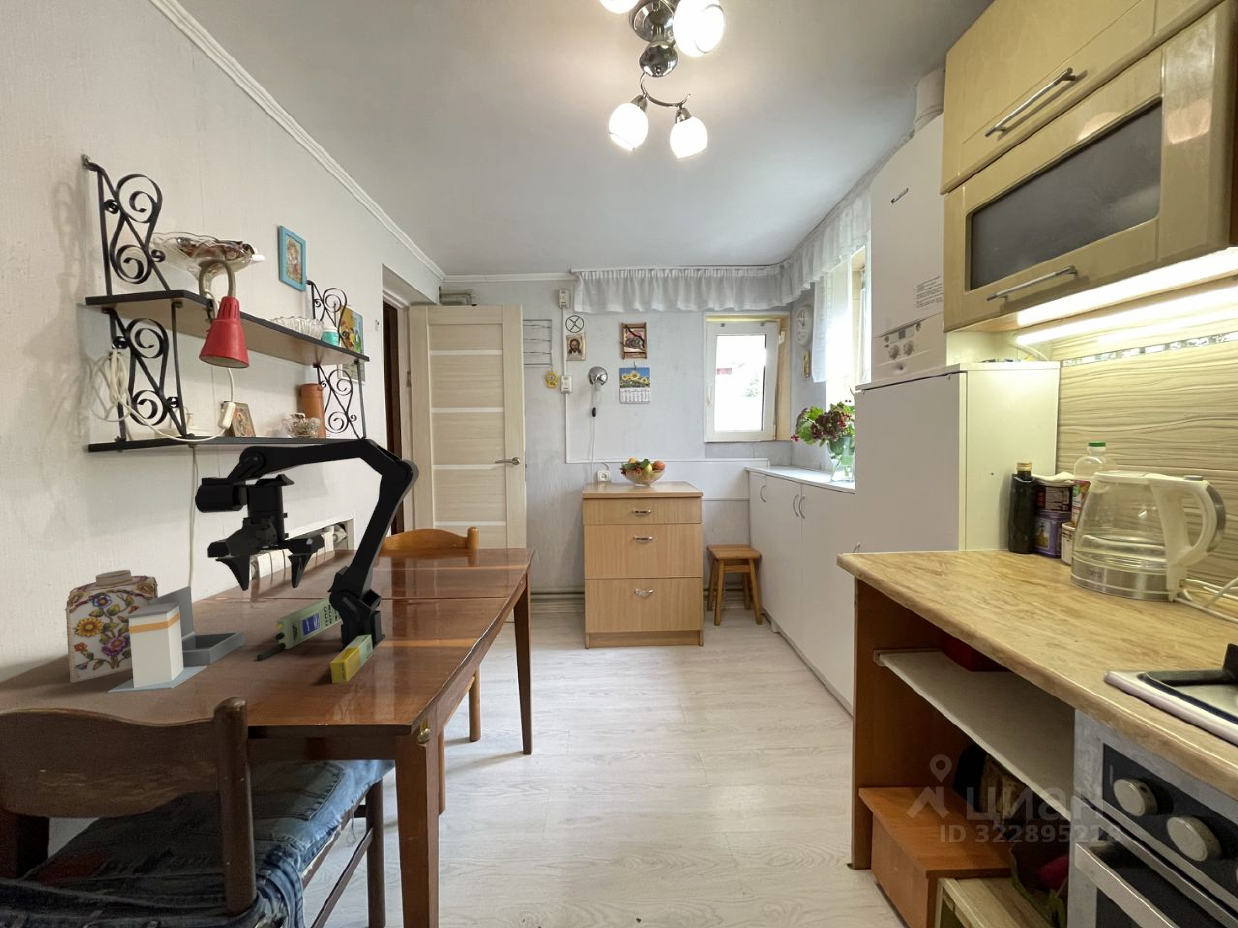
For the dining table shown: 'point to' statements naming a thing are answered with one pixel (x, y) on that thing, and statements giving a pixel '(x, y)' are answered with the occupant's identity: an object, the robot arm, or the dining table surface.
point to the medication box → (351, 659)
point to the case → (199, 645)
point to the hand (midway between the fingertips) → (270, 588)
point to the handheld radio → (302, 625)
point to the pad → (180, 678)
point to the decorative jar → (104, 623)
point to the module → (155, 644)
